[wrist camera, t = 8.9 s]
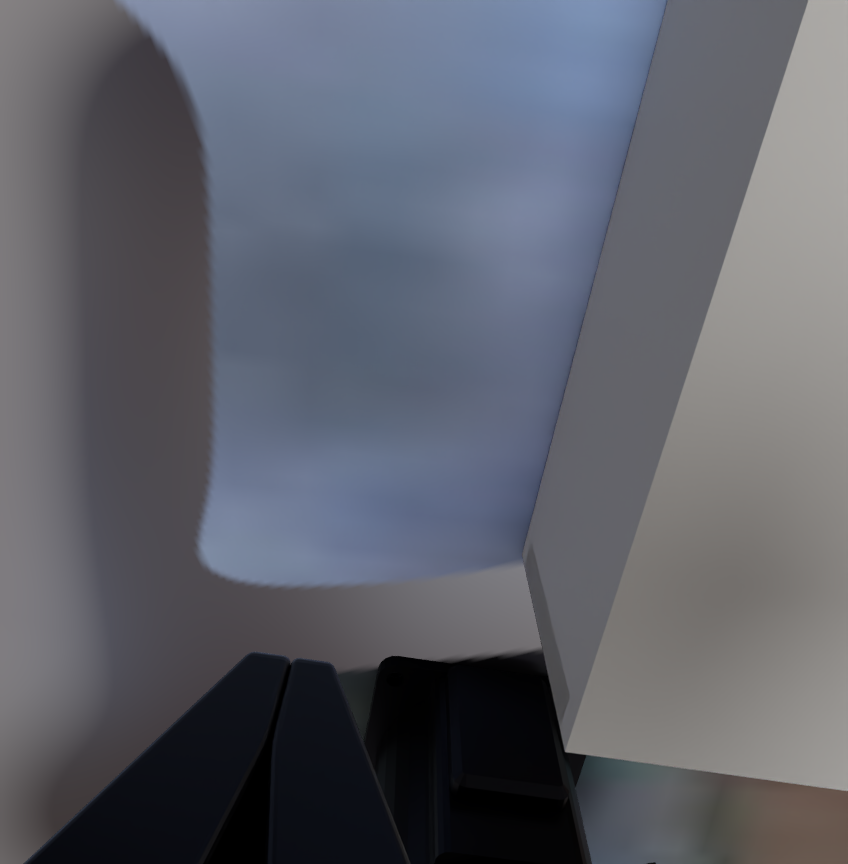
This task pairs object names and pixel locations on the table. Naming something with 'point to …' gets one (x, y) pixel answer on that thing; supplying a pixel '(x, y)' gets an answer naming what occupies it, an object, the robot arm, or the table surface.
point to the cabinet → (712, 417)
